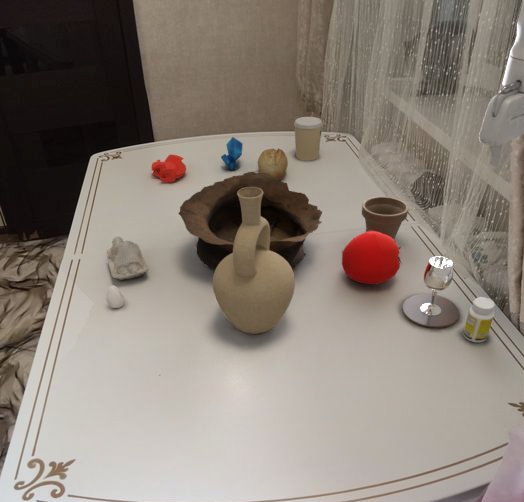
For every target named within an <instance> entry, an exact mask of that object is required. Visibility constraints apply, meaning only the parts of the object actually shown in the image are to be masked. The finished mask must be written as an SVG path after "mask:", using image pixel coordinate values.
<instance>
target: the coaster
mask: <svg viewBox="0 0 524 502" xmlns="http://www.w3.org/2000/svg"><path fill="white" fill-rule="evenodd" d="M431 301H432V293H420V294H419V293H418V294H414V295H412V296H409V297H408V298H407V299H405V300H404V302H403V303H402V307H401V310H402V314H403V315H404V317H405V318H406V319H407V321H410V322H411V323H412V324H415V325H417V326H419V327H422V328H426V329H435V330H436V329H437V330H439V329H446V328H449V327H451V326H454V325H455V324H456V322H458V320H459V317H460V310H459V307H458V306H457V305H456V304H455V303H454V302H453V301H451V300H449V299H448V298H446V297H443V296H440V295H437V294H436V296H435V298H434V302H433V304H435V305H437V306H439V307H440V308H441V313H440V314H438V315H435V316H430V315H426V314H424V313H423V312H422V311H421V310H420V307H421V306H422V305H423V304H426V303H431Z"/></svg>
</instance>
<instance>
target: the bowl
mask: <svg viewBox="0 0 524 502" xmlns="http://www.w3.org/2000/svg"><path fill="white" fill-rule="evenodd" d="M245 187H256V188H260V189H261V190H262V191H263V196H262V199H261V210H260V216H261V217H263V218H265V219H266V220H267V222H268V223H269V226H270V246H269V250H270V251H272V252H275V253H277V254H279V255H280V256H282V257H283V258H284V259H285V260H286V261H287V262H288V263H289V265H290V266H291V268H292V267H294V266H296V265H297V264H299V263H300V262H302V261H303V260H304V258H305V257H306V255H307V254H306V253H305V250H304V242H306V241H305V240H306V238H307V237H309V235H310V234H311V233H313V232H315V231H317V229H318V228H319V225H321V224H322V223H323V221H322V220H320V219H321V216H322V214H323V211H322V210H320V209H318V206H317V205H314V204H312V203H309V201H310V199H309V198H308V196H307V195H306V194H305V193H303V192H297V191H293V190H290V189H289V186H288V183H287V182H283V181H281V180H277V179H276V178H274V177H272V176H271V175H270V174H269V173H260V172H255V171H247V172H245V173H243V174H239V175H231V176H230V177H227V178H224V179H223V180H220V181H214V182H213V184H211V185H207V186H204V187H202V189H201V190H200V191H197V192H195V193H193V195H191V196H190V197H189V198H188V199H186V200H184V201H183V202H182V204H181V206H180V207H179V212H178V215H179V216H180V218H181V220H182V221H183V223H184V227H185V229H186V230H187V231H188V233H189V234H190V235H192V236H195V237H196V238H197V242H196V255H197V257H198V259H199V260H200V261H201V263H202V264H203V265H204V266H206V267H207V268H209V269H211V270H213V271H215V270H216V268H217V266H218V265H219V263H220V262H221V261H222V260H223V259H224V258H225V257H227V256H228V255H229V254H231V253H233V246H234V241H235V237H236V234H237V231H238V229H239V227H240V226H241V224H242V211H241V205H240V200H239V197H238V195H237V192H238V191H239V190H240V189H242V188H245Z"/></svg>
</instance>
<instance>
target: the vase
mask: <svg viewBox="0 0 524 502" xmlns="http://www.w3.org/2000/svg"><path fill="white" fill-rule="evenodd" d="M237 195H238V197H239V200H240V205H241V211H242V224H241V226H240V227H239V229H238V231H237V234H236V237H235V241H234V246H233V253H231V254H229V255H228V256H227V257H225V258H224V259H223V260H222V261H221V262H220V263H219V265H218V266H217V268H216V270H214V273H213V277H212V289H213V294H214V296H215V297H214V298H215V300H216V302H217V304H218V306H219V308H220V310H221V311H222V313H223V314H224V316H225V318H226V319H227V320H228V321H229V322H230V324H231V325H232V326H233V327H234V328H236V329H237V330H239V331H241V332H243V333H245V334H250V335H252V334H253V335H259V334H263V333H266V332H268V331H270V330H272V329H274V327H276V326H277V324H278V323H279V322H280V321H281V320H282V318H283V317H284V315H285V314H286V312H287V310H288V308H289V307H290V304H291V301H292V299H293V296H294V293H295V289H296V278H295V277H296V276H295V274H294V270H293V268H292V267H291V266H290V265H289V263H288V262H287V261H286V260H285V259H284V258H283V257H282V256H280V255H279V254H277V253H275V252H272V251H270V250H269V246H270V226H269V223H268V222H267V220H266V219H265V218H263V217H261V216H260V210H261V199H262V196H263V191H262V190H261V189H260V188H256V187H245V188H242V189H240V190H239V191H238V192H237Z"/></svg>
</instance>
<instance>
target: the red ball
mask: <svg viewBox="0 0 524 502" xmlns="http://www.w3.org/2000/svg"><path fill="white" fill-rule="evenodd" d="M402 247H403V246H402V245H400V246H398V244H397V242H396V240H395V239H393V238H392V237H390V236H388V235H386V234H382V233H380V232H376V231H368V232H367V231H364V232H363V233H360V234H358V235H356V236H355V237H353V238H352V239H351V240H350V241H349V242H348V243H347V244H346V245H345V247H344V249H343V250H342V253H341V254H342V255H341V265H342V269H343V271H344V273H345V275H346V276H348V277H349V278H350V279H352V280H353V281H355V282H358V283H361V284H367V285H378V284H383V283H385V282H387V281H389V280H390V279H392V278H393V277H395V276H396V275H397V273H398V272H399V270H400V265H403V264H402V261H401V258H400V252H401V251H400V250H401V248H402Z"/></svg>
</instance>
